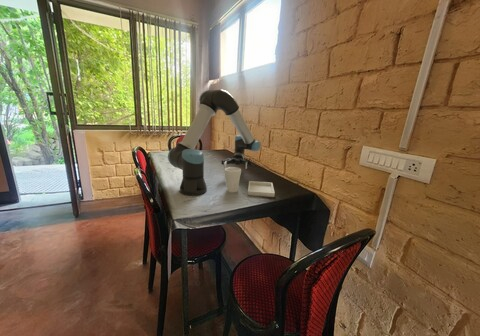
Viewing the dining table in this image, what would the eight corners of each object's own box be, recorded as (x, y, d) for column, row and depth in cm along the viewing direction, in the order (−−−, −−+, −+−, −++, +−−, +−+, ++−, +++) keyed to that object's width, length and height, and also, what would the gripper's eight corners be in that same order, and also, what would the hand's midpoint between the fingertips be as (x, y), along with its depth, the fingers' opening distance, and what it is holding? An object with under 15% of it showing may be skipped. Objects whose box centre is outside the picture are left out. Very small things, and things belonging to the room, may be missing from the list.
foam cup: (238, 194, 115) (239, 172, 112) (222, 192, 117) (223, 170, 113) (241, 188, 124) (242, 168, 121) (226, 186, 126) (227, 166, 122)
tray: (247, 195, 114) (247, 191, 113) (248, 184, 131) (249, 181, 131) (274, 197, 113) (274, 193, 112) (272, 186, 130) (272, 182, 130)
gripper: (255, 164, 148) (254, 173, 127) (221, 162, 149) (215, 170, 129) (255, 154, 146) (255, 161, 125) (221, 152, 147) (215, 159, 127)
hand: (235, 166), depth 127 cm, fingers open, 13 cm apart
